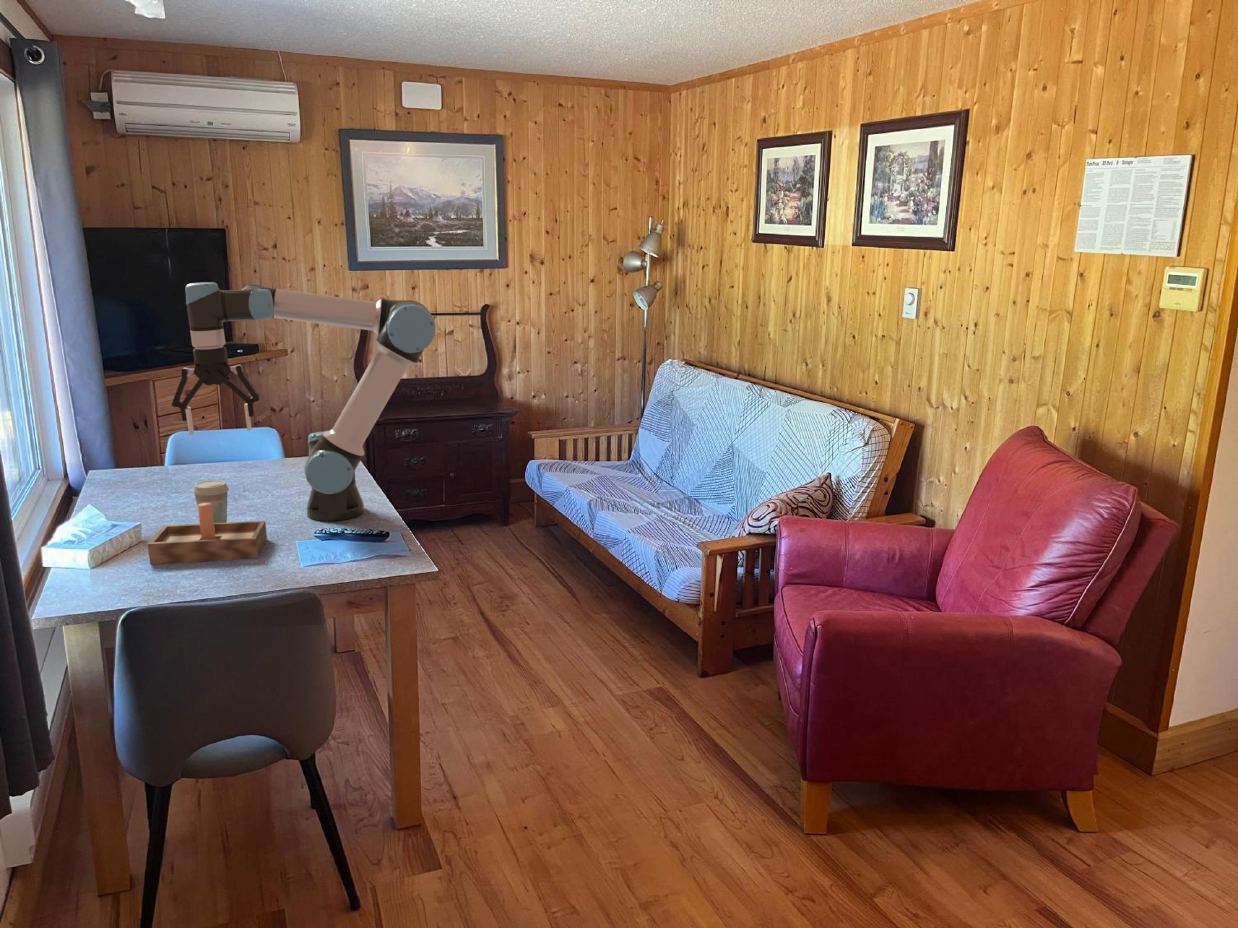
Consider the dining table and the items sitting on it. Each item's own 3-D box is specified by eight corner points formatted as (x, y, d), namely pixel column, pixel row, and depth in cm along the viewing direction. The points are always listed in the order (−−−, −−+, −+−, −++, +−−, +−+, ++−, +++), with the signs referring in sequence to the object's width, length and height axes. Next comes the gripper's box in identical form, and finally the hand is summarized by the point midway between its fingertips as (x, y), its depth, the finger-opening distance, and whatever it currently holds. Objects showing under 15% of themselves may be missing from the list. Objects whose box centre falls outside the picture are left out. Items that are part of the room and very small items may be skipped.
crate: (267, 539, 242) (265, 520, 241) (257, 558, 229) (255, 538, 227) (166, 544, 238) (163, 525, 236) (150, 564, 224) (147, 544, 223)
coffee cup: (194, 534, 246) (190, 489, 242) (199, 524, 253) (194, 480, 250) (230, 531, 248) (225, 487, 245) (234, 521, 256) (229, 478, 253)
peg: (215, 553, 232) (210, 506, 229) (201, 554, 231) (196, 506, 228) (218, 548, 235) (213, 502, 232) (204, 549, 234) (199, 502, 231)
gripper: (264, 342, 239) (274, 424, 245) (157, 347, 233) (169, 432, 239) (261, 346, 232) (271, 430, 238) (150, 352, 226) (163, 438, 232)
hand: (220, 431), depth 238 cm, fingers open, 13 cm apart
